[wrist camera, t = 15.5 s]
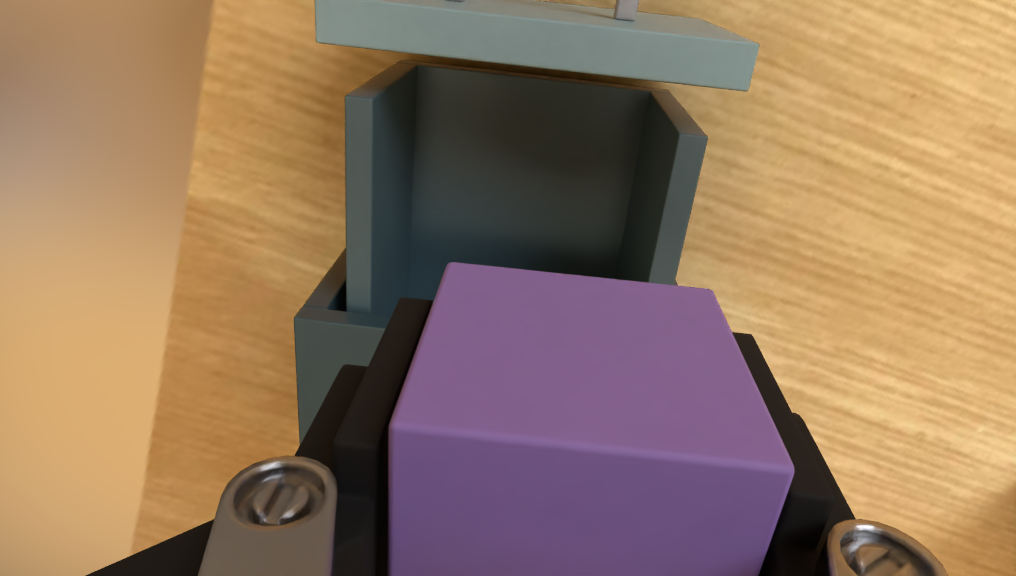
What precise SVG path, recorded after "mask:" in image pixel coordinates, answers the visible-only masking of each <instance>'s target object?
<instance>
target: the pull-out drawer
mask: <svg viewBox="0 0 1016 576" xmlns="http://www.w3.org/2000/svg"><path fill="white" fill-rule="evenodd" d="M638 3H639V0H616V5H615V9H609V8H600V7H591V6H582V5H573V4H564V3H555V2H546V1H537V0H315V26H316V42H318V43H322V44H331V45H340V46H349V47H358V48H366V49H375V50H384V51H393V52H402V53H411V54H419V55H428V56H437V57H446V58H455V59H464V60H472V61H481V62H490V63H499V64H508V65H516V66H525V67H534V68H543V69H552V70H561V71H569V72H578V73H587V74H596V75H605V76H614V77H622V78H631V79H640V80H649V81H658V82H666V83H675V84H684V85H693V86H702V87H711V88H719V89H728V90H737V91H748V89H749V86H750V82H751V78H752V74H753V70H754V66H755V62H756V58H757V54H758V50H759V44H758V43H756V42H754V41H751V40H749V39H747V38H744V37H742V36H740V35H737V34H735V33H733V32H730V31H728V30H726V29H723V28H721V27H719V26H716V25H714V24H711V23H709V22H707V21H704V20H702V19H698V18H689V17H680V16H671V15H663V14H654V13H645V12H637V9H638ZM707 140H708V137H707V135H706V134H705V133H704V132H703V131H702V130H701V128H700V127H699V126H698V125H697V124H696V122H695V121H694V120H693V119H692V118H691V116H690V115H689V114H688V113H687V112H686V110H685V109H684V108H683V107H682V106H681V104H680V103H679V102H678V101H677V100H676V98H675V97H674V96H673V95H672V94H671V93H670V91H669V90H664V89H655V88H646V87H637V86H629V85H620V84H611V83H602V82H593V81H585V80H576V79H567V78H558V77H549V76H541V75H532V74H523V73H514V72H505V71H497V70H488V69H479V68H470V67H461V66H452V65H444V64H435V63H426V62H417V61H408V60H399V61H398V62H396V63H395V64H394V65H392V66H390V67H389V68H387V69H386V70H384V71H383V72H381V73H380V74H378V75H377V76H375V77H373V78H372V79H370V80H369V81H367V82H366V83H364V84H363V85H361V86H360V87H358V88H356V89H355V90H353V91H352V92H350V93H349V94H347V95H346V96H345V185H346V312H352V313H361V314H369V315H377V316H386V317H391V316H392V314H393V312H394V310H395V307H396V305H397V303H398V301H399V299H400V297H405V298H415V299H424V300H432V302H434V299H435V296H436V293H437V290H438V288H439V285H440V282H441V279H442V277H443V274H444V271H445V268H446V266H447V264H448V263H451V262H456V263H466V264H475V265H485V266H494V267H504V268H513V269H523V270H532V271H542V272H552V273H561V274H571V275H580V276H590V277H599V278H609V279H618V280H628V281H637V282H647V283H656V284H666V285H674V283H675V278H676V274H677V270H678V265H679V261H680V257H681V252H682V248H683V244H684V240H685V235H686V231H687V227H688V222H689V218H690V214H691V209H692V205H693V201H694V196H695V192H696V188H697V183H698V179H699V175H700V170H701V166H702V162H703V158H704V153H705V149H706V145H707Z"/></svg>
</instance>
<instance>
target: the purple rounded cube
mask: <svg viewBox="0 0 1016 576" xmlns="http://www.w3.org/2000/svg"><path fill="white" fill-rule="evenodd" d="M794 471H795V470H794V465H793V463H792V461H791V459H790V456H789V454H788V452H787V450H786V448H785V446H784V444H783V441H782V439H781V437H780V435H779V433H778V431H777V428H776V426H775V424H774V422H773V420H772V418H771V415H770V413H769V411H768V409H767V407H766V405H765V403H764V400H763V398H762V396H761V394H760V392H759V390H758V387H757V385H756V383H755V381H754V379H753V377H752V374H751V372H750V370H749V368H748V366H747V364H746V362H745V359H744V357H743V355H742V353H741V351H740V349H739V346H738V344H737V342H736V340H735V338H734V336H733V334H732V331H731V329H730V327H729V325H728V323H727V321H726V318H725V316H724V314H723V312H722V310H721V308H720V305H719V303H718V301H717V299H716V297H715V295H714V293H713V291H712V290H710V289H704V288H695V287H685V286H676V285H666V284H656V283H647V282H637V281H628V280H618V279H609V278H599V277H590V276H580V275H571V274H561V273H552V272H542V271H532V270H523V269H513V268H504V267H494V266H485V265H475V264H466V263H456V262H451V263H448V264H447V266H446V268H445V271H444V274H443V277H442V279H441V282H440V285H439V288H438V290H437V293H436V296H435V299H434V302H433V304H432V307H431V310H430V313H429V315H428V318H427V321H426V324H425V326H424V329H423V332H422V335H421V338H420V340H419V343H418V346H417V349H416V351H415V354H414V357H413V360H412V362H411V365H410V368H409V371H408V374H407V376H406V379H405V382H404V385H403V387H402V390H401V393H400V396H399V398H398V401H397V404H396V407H395V410H394V412H393V415H392V418H391V421H390V423H389V441H388V571H387V576H758V575H759V572H760V569H761V567H762V564H763V561H764V558H765V555H766V552H767V550H768V547H769V544H770V541H771V538H772V535H773V533H774V530H775V527H776V524H777V521H778V518H779V516H780V513H781V510H782V507H783V504H784V501H785V499H786V496H787V493H788V490H789V487H790V484H791V482H792V479H793V476H794Z"/></svg>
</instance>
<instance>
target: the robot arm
mask: <svg viewBox="0 0 1016 576" xmlns="http://www.w3.org/2000/svg"><path fill="white" fill-rule="evenodd" d="M432 304H433V302H432V300H424V299H415V298H405V297H400V299H399V301H398V303H397V305H396V307H395V310H394V312H393V314H392V316H391V318H390V320H389V322H388V325H387V327H386V329H385V331H384V333H383V335H382V338H381V340H380V342H379V344H378V346H377V348H376V351H375V353H374V355H373V357H372V359H371V361H370V363H369V366H359V365H350V364H345V365H343V366H342V368H341V369H340V371H339V373H338V374H337V376H336V378H335V380H334V382H333V384H332V386H331V388H330V390H329V392H328V393H327V395H326V397H325V399H324V401H323V403H322V405H321V407H320V409H319V410H318V412H317V414H316V416H315V418H314V420H313V422H312V424H311V426H310V428H309V429H308V431H307V433H306V435H305V437H304V439H303V441H302V443H301V445H300V446H299V448H298V450H297V452H296V454H295V456H282V457H275V458H269V459H266V460H263V461H260V462H257V463H254V464H252V465H251V466H249V467H247V468H246V469H244V470H242V471H240V472H239V473H238V474H237V475H236V476H235V477H234V478H233V479H232V480H231V481H230V482H229V483H228V484H227V486H226V488H225V490H224V491H223V493H222V495H221V498H220V502H219V505H218V508H217V512H216V515H215V519H214V520H211V521H209V522H207V523H204V524H202V525H200V526H198V527H195V528H193V529H191V530H188V531H186V532H184V533H182V534H179V535H177V536H175V537H173V538H170V539H168V540H166V541H163V542H161V543H159V544H157V545H154V546H152V547H150V548H148V549H145V550H143V551H141V552H138V553H136V554H134V555H132V556H129V557H127V558H125V559H123V560H121V561H118V562H116V563H113V564H111V565H109V566H107V567H104V568H102V569H100V570H97V571H95V572H93V573H91V574H88V575H86V576H387V571H388V441H389V423H390V421H391V418H392V415H393V412H394V410H395V407H396V404H397V401H398V398H399V396H400V393H401V390H402V387H403V385H404V382H405V379H406V376H407V374H408V371H409V368H410V365H411V362H412V360H413V357H414V354H415V351H416V349H417V346H418V343H419V340H420V338H421V335H422V332H423V329H424V326H425V324H426V321H427V318H428V315H429V313H430V310H431V307H432ZM732 334H733V336H734V338H735V340H736V342H737V344H738V346H739V349H740V351H741V353H742V355H743V357H744V359H745V362H746V364H747V366H748V368H749V370H750V372H751V374H752V377H753V379H754V381H755V383H756V385H757V387H758V390H759V392H760V394H761V396H762V398H763V400H764V403H765V405H766V407H767V409H768V411H769V413H770V415H771V418H772V420H773V422H774V424H775V426H776V428H777V431H778V433H779V435H780V437H781V439H782V441H783V444H784V446H785V448H786V450H787V452H788V454H789V456H790V459H791V461H792V463H793V465H794V470H795V471H794V476H793V479H792V482H791V484H790V487H789V490H788V493H787V496H786V499H785V501H784V504H783V507H782V510H781V513H780V516H779V518H778V521H777V524H776V527H775V530H774V533H773V535H772V538H771V541H770V544H769V547H768V550H767V552H766V555H765V558H764V561H763V564H762V567H761V569H760V572H759V575H758V576H948V574H947V572H946V570H945V569H944V567H943V565H942V564H941V563H940V561H939V560H938V559H937V558H936V557H935V556H934V555H933V554H932V553H931V552H930V550H928V549H927V548H926V547H924V546H923V545H922V544H920V543H919V542H918V541H917V540H915V539H914V538H912V537H911V536H909V535H907V534H905V533H903V532H901V531H899V530H898V529H896V528H893V527H890V526H888V525H885V524H882V523H879V522H875V521H869V520H863V519H855V517H854V515H853V513H852V511H851V509H850V507H849V506H848V504H847V502H846V500H845V498H844V496H843V494H842V492H841V490H840V489H839V487H838V485H837V483H836V481H835V479H834V477H833V475H832V473H831V472H830V470H829V468H828V466H827V464H826V462H825V460H824V458H823V456H822V454H821V453H820V451H819V449H818V447H817V445H816V443H815V441H814V439H813V437H812V436H811V434H810V432H809V430H808V428H807V426H806V424H805V422H804V421H803V419H802V418H801V417H800V415H798V414H796V413H792V412H791V410H790V408H789V406H788V404H787V402H786V400H785V398H784V396H783V394H782V392H781V390H780V388H779V386H778V384H777V382H776V381H775V379H774V377H773V375H772V373H771V371H770V369H769V367H768V365H767V363H766V361H765V359H764V357H763V355H762V353H761V351H760V349H759V347H758V345H757V343H756V341H755V339H754V338H753V336H752V335H751V334H744V333H735V332H732Z"/></svg>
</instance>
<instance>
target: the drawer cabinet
mask: <svg viewBox="0 0 1016 576" xmlns="http://www.w3.org/2000/svg"><path fill="white" fill-rule="evenodd" d="M674 285H676V286H678V285H677V282H676V280H675V283H674ZM390 318H391V317H386V316H377V315H369V314H361V313H352V312H346V248H345V249H344V251H343V252H342V253H341V255H340V256H339V257H338V259H337V260H336V262H335V263H334V264H333V266H332V267H331V268H330V270H329V271H328V272H327V274H326V275H325V277H324V278H323V279H322V281H321V282H320V283H319V285H318V286H317V288H316V289H315V290H314V292H313V293H312V294H311V296H310V297H309V298H308V300H307V301H306V303H305V304H304V305H303V307H302V308H301V309H300V310H299V312H298V313H297V315H296V316H295V317H294V333H295V354H296V375H297V396H298V418H299V439H300V445H301V443H302V441H303V439H304V437H305V435H306V433H307V431H308V429H309V428H310V426H311V424H312V422H313V420H314V418H315V416H316V414H317V412H318V410H319V409H320V407H321V405H322V403H323V401H324V399H325V397H326V395H327V393H328V392H329V390H330V388H331V386H332V384H333V382H334V380H335V378H336V376H337V374H338V373H339V371H340V369H341V368H342V366H343V365H345V364H350V365H359V366H369V363H370V361H371V359H372V357H373V355H374V353H375V351H376V348H377V346H378V344H379V342H380V340H381V338H382V335H383V333H384V331H385V329H386V327H387V325H388V322H389V320H390Z"/></svg>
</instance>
